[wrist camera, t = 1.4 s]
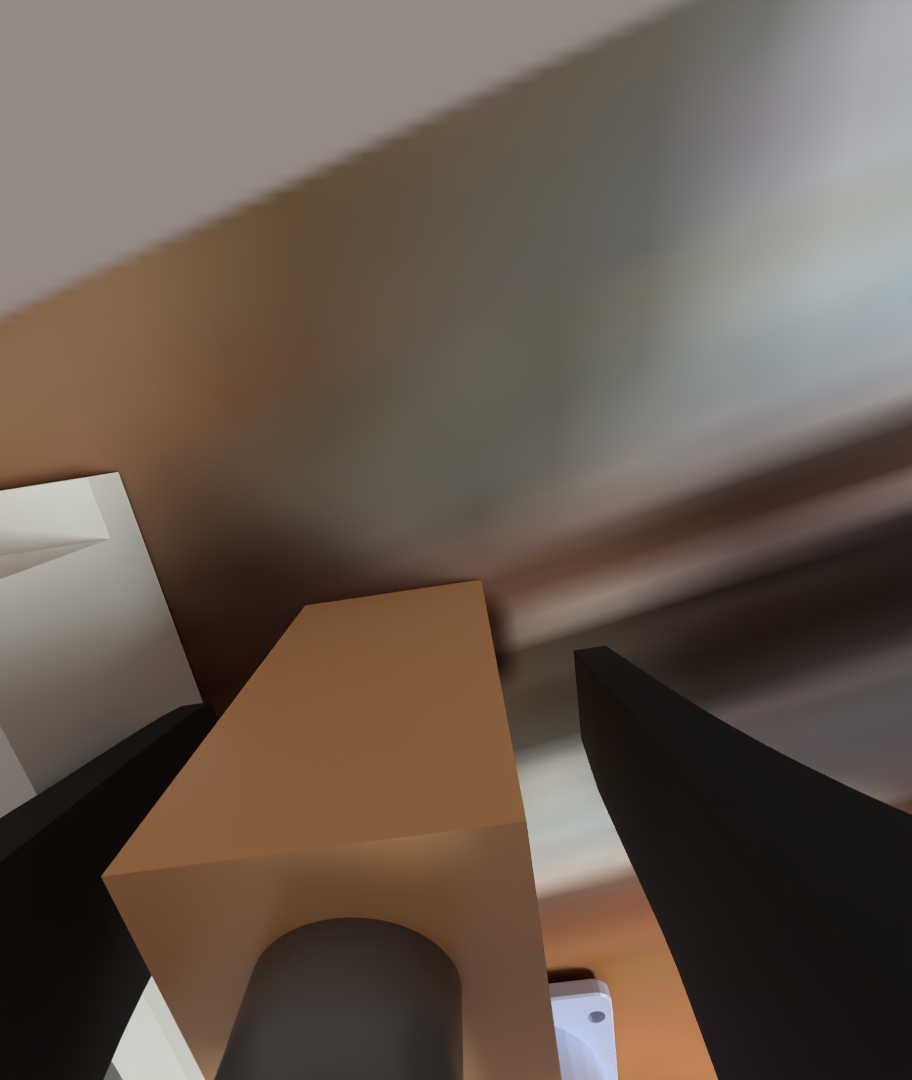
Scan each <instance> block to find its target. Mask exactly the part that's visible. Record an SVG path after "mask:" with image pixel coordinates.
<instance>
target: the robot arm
mask: <svg viewBox="0 0 912 1080" xmlns="http://www.w3.org/2000/svg"><path fill="white" fill-rule="evenodd" d="M574 659H575V671H576V682H577V694H578V706H579V717H580V729H581V739H582V742H583V745H584V748H585V751H586V754H587V757H588V760H589V764H590V767H591V770H592V773H593V776H594V779H595V782H596V784H597V787H598V790H599V793H600V795H601V797H602V799H603V802H604V804H605V806H606V808H607V811H608V813H609V815H610V817H611V820H612V822H613V824H614V826H615V828H616V831H617V833H618V835H619V837H620V840H621V842H622V844H623V846H624V848H625V851H626V853H627V855H628V857H629V859H630V862H631V864H632V866H633V868H634V870H635V872H636V875H637V877H638V879H639V881H640V883H641V886H642V888H643V890H644V892H645V894H646V897H647V899H648V901H649V903H650V906H651V908H652V910H653V912H654V914H655V916H656V919H657V921H658V923H659V925H660V927H661V930H662V932H663V935H664V937H665V939H666V942H667V944H668V947H669V949H670V951H671V954H672V956H673V959H674V961H675V963H676V966H677V968H678V971H679V974H680V976H681V979H682V982H683V985H684V987H685V990H686V993H687V995H688V998H689V1001H690V1004H691V1006H692V1009H693V1012H694V1014H695V1017H696V1020H697V1023H698V1025H699V1028H700V1031H701V1034H702V1036H703V1039H704V1042H705V1044H706V1047H707V1050H708V1053H709V1055H710V1058H711V1061H712V1063H713V1066H714V1069H715V1072H716V1075H717V1077H718V1080H912V815H911V814H908V813H906V812H904V811H901V810H899V809H896V808H894V807H892V806H890V805H888V804H885V803H883V802H881V801H879V800H876V799H874V798H872V797H870V796H868V795H865V794H863V793H861V792H859V791H857V790H854V789H852V788H850V787H848V786H846V785H844V784H842V783H840V782H838V781H836V780H834V779H832V778H830V777H828V776H826V775H824V774H822V773H819V772H817V771H815V770H813V769H811V768H809V767H807V766H805V765H803V764H801V763H799V762H797V761H795V760H793V759H791V758H789V757H787V756H785V755H783V754H781V753H779V752H778V751H776V750H774V749H772V748H770V747H768V746H766V745H764V744H762V743H761V742H759V741H757V740H755V739H753V738H752V737H750V736H748V735H746V734H745V733H743V732H741V731H739V730H738V729H736V728H734V727H732V726H730V725H729V724H727V723H725V722H723V721H722V720H720V719H718V718H717V717H715V716H713V715H712V714H710V713H708V712H707V711H705V710H703V709H702V708H700V707H698V706H697V705H695V704H693V703H692V702H690V701H689V700H687V699H685V698H684V697H682V696H681V695H679V694H677V693H676V692H674V691H673V690H671V689H670V688H668V687H667V686H665V685H663V684H662V683H660V682H659V681H657V680H656V679H654V678H653V677H651V676H650V675H648V674H647V673H645V672H644V671H642V670H641V669H639V668H638V667H636V666H635V665H633V664H632V663H631V662H629V661H628V660H626V659H625V658H623V657H622V656H620V655H619V654H617V653H616V652H614V651H613V650H611V649H609V648H608V647H606V646H602V647H595V648H587V649H580V650H574ZM217 722H218V719H217V716H216V714H215V711H214V708H213V705H212V703H211V702H206V703H199V704H192V705H185V706H180V707H179V708H177V709H175V710H173V711H171V712H169V713H167V714H165V715H163V716H162V717H160V718H158V719H157V720H155V721H153V722H151V723H150V724H148V725H146V726H145V727H143V728H142V729H140V730H138V731H137V732H135V733H134V734H132V735H130V736H129V737H127V738H126V739H124V740H122V741H121V742H119V743H118V744H116V745H115V746H113V747H112V748H110V749H108V750H107V751H105V752H104V753H102V754H101V755H99V756H97V757H96V758H94V759H93V760H91V761H90V762H88V763H87V764H85V765H84V766H82V767H80V768H79V769H77V770H76V771H74V772H73V773H71V774H70V775H68V776H66V777H65V778H63V779H62V780H60V781H59V782H57V783H56V784H54V785H52V786H51V787H49V788H48V789H46V790H45V791H43V792H41V793H40V794H38V795H37V796H35V797H33V798H32V799H30V800H28V801H27V802H25V803H24V804H22V805H20V806H19V807H17V808H15V809H14V810H12V811H11V812H9V813H7V814H6V815H4V816H3V817H1V818H0V1080H104V1077H105V1075H106V1073H107V1070H108V1068H109V1066H110V1063H111V1061H112V1059H113V1056H114V1054H115V1052H116V1049H117V1047H118V1045H119V1042H120V1040H121V1038H122V1035H123V1033H124V1031H125V1029H126V1027H127V1025H128V1023H129V1020H130V1018H131V1016H132V1014H133V1012H134V1010H135V1008H136V1006H137V1004H138V1002H139V1000H140V997H141V995H142V993H143V991H144V989H145V987H146V985H147V984H148V982H149V980H150V978H151V976H152V975H151V973H150V971H149V969H148V967H147V965H146V963H145V961H144V960H143V958H142V956H141V954H140V952H139V950H138V948H137V946H136V944H135V942H134V940H133V938H132V936H131V934H130V932H129V930H128V928H127V926H126V924H125V922H124V920H123V919H122V917H121V915H120V913H119V911H118V909H117V907H116V905H115V903H114V901H113V899H112V897H111V895H110V893H109V891H108V889H107V887H106V885H105V883H104V881H103V880H102V878H101V876H102V875H103V873H104V872H105V871H106V869H107V868H108V867H109V865H110V864H111V863H112V861H113V860H114V859H115V857H116V856H117V855H118V853H119V852H120V851H121V849H122V848H123V847H124V845H125V844H126V843H127V841H128V840H129V839H130V837H131V836H132V835H133V833H134V832H135V831H136V829H137V828H138V827H139V825H140V824H141V823H142V821H143V820H144V819H145V817H146V816H147V815H148V813H149V812H150V811H151V810H152V808H153V807H154V806H155V804H156V803H157V802H158V800H159V799H160V798H161V796H162V795H163V794H164V792H165V791H166V790H167V788H168V787H169V786H170V784H171V783H172V782H173V780H174V779H175V778H176V776H177V775H178V774H179V772H180V771H181V770H182V768H183V767H184V766H185V764H186V763H187V762H188V760H189V759H190V758H191V756H192V755H193V754H194V752H195V751H196V750H197V748H198V747H199V746H200V744H201V743H202V742H203V740H204V739H205V738H206V736H207V735H208V734H209V733H210V731H211V730H212V729H213V727H214V726H215V725H216V723H217ZM549 990H550V998H551V1005H552V1012H553V1019H554V1027H555V1034H556V1041H557V1049H558V1056H559V1063H560V1070H561V1078H562V1080H618V1074H617V1061H616V1048H615V1035H614V1023H613V1010H612V1001H611V997H610V993H609V990H608V987H607V985H606V984H605V983H604V982H603V981H601V980H598V979H584V980H576V981H567V982H559V983H551V984H549Z"/></svg>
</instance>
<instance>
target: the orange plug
mask: <svg viewBox="0 0 912 1080" xmlns="http://www.w3.org/2000/svg"><path fill="white" fill-rule="evenodd" d="M101 878H102V880H103V881H104V883H105V885H106V887H107V889H108V891H109V893H110V895H111V897H112V899H113V901H114V903H115V905H116V907H117V909H118V911H119V913H120V915H121V917H122V919H123V920H124V922H125V924H126V926H127V928H128V930H129V932H130V934H131V936H132V938H133V940H134V942H135V944H136V946H137V948H138V950H139V952H140V954H141V956H142V958H143V960H144V961H145V963H146V965H147V967H148V969H149V971H150V973H151V975H152V977H153V979H154V981H155V983H156V985H157V987H158V989H159V991H160V993H161V995H162V997H163V999H164V1000H165V1002H166V1004H167V1006H168V1008H169V1010H170V1012H171V1014H172V1016H173V1018H174V1020H175V1022H176V1024H177V1026H178V1028H179V1030H180V1032H181V1034H182V1036H183V1038H184V1039H185V1041H186V1043H187V1045H188V1047H189V1049H190V1051H191V1053H192V1055H193V1057H194V1059H195V1061H196V1063H197V1065H198V1067H199V1069H200V1071H201V1073H202V1075H203V1077H204V1078H205V1080H562V1078H561V1070H560V1063H559V1056H558V1049H557V1041H556V1034H555V1027H554V1019H553V1012H552V1005H551V998H550V990H549V983H548V976H547V969H546V961H545V954H544V947H543V940H542V932H541V925H540V918H539V911H538V903H537V896H536V889H535V881H534V874H533V867H532V860H531V852H530V845H529V838H528V831H527V823H526V817H525V812H524V807H523V801H522V796H521V791H520V785H519V780H518V775H517V769H516V764H515V758H514V753H513V748H512V742H511V737H510V732H509V726H508V721H507V716H506V710H505V705H504V700H503V694H502V689H501V683H500V678H499V673H498V667H497V662H496V657H495V651H494V646H493V641H492V635H491V630H490V625H489V619H488V614H487V608H486V603H485V598H484V592H483V587H482V582H481V580H475V581H468V582H461V583H454V584H447V585H441V586H434V587H427V588H420V589H414V590H407V591H400V592H393V593H386V594H380V595H373V596H366V597H359V598H352V599H346V600H339V601H332V602H325V603H318V604H312V605H305V606H304V608H303V609H302V610H301V612H300V613H299V614H298V616H297V617H296V618H295V620H294V621H293V622H292V624H291V625H290V626H289V628H288V629H287V630H286V632H285V633H284V634H283V636H282V637H281V638H280V640H279V641H278V642H277V644H276V645H275V646H274V648H273V649H272V650H271V652H270V653H269V654H268V655H267V657H266V658H265V659H264V661H263V662H262V663H261V665H260V666H259V667H258V669H257V670H256V671H255V673H254V674H253V675H252V677H251V678H250V679H249V681H248V682H247V683H246V685H245V686H244V687H243V689H242V690H241V691H240V693H239V694H238V695H237V697H236V698H235V699H234V701H233V702H232V703H231V705H230V706H229V707H228V709H227V710H226V711H225V713H224V714H223V715H222V717H221V718H220V719H219V721H218V722H217V723H216V725H215V726H214V727H213V729H212V730H211V731H210V733H209V734H208V735H207V736H206V738H205V739H204V740H203V742H202V743H201V744H200V746H199V747H198V748H197V750H196V751H195V752H194V754H193V755H192V756H191V758H190V759H189V760H188V762H187V763H186V764H185V766H184V767H183V768H182V770H181V771H180V772H179V774H178V775H177V776H176V778H175V779H174V780H173V782H172V783H171V784H170V786H169V787H168V788H167V790H166V791H165V792H164V794H163V795H162V796H161V798H160V799H159V800H158V802H157V803H156V804H155V806H154V807H153V808H152V810H151V811H150V812H149V813H148V815H147V816H146V817H145V819H144V820H143V821H142V823H141V824H140V825H139V827H138V828H137V829H136V831H135V832H134V833H133V835H132V836H131V837H130V839H129V840H128V841H127V843H126V844H125V845H124V847H123V848H122V849H121V851H120V852H119V853H118V855H117V856H116V857H115V859H114V860H113V861H112V863H111V864H110V865H109V867H108V868H107V869H106V871H105V872H104V873H103V875H102V876H101Z"/></svg>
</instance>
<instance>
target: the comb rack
mask: <svg viewBox="0 0 912 1080" xmlns="http://www.w3.org/2000/svg"><path fill="white" fill-rule="evenodd" d="M199 703H203V701H202V699H201V696H200V693H199V690H198V688H197V685H196V682H195V679H194V677H193V674H192V671H191V669H190V666H189V663H188V660H187V658H186V655H185V652H184V650H183V647H182V644H181V641H180V639H179V636H178V633H177V631H176V628H175V625H174V622H173V620H172V617H171V614H170V612H169V609H168V606H167V603H166V601H165V598H164V595H163V592H162V590H161V587H160V584H159V582H158V579H157V576H156V573H155V571H154V568H153V565H152V563H151V560H150V557H149V554H148V552H147V549H146V546H145V544H144V541H143V538H142V535H141V533H140V530H139V527H138V525H137V522H136V519H135V516H134V514H133V511H132V508H131V506H130V503H129V500H128V497H127V495H126V492H125V489H124V486H123V484H122V481H121V478H120V476H119V473H118V472H114V473H108V474H101V475H95V476H89V477H82V478H76V479H70V480H63V481H57V482H51V483H45V484H38V485H32V486H26V487H19V488H13V489H7V490H0V818H1V817H3V816H4V815H6V814H7V813H9V812H11V811H12V810H14V809H15V808H17V807H19V806H20V805H22V804H24V803H25V802H27V801H28V800H30V799H32V798H33V797H35V796H37V795H38V794H40V793H41V792H43V791H45V790H46V789H48V788H49V787H51V786H52V785H54V784H56V783H57V782H59V781H60V780H62V779H63V778H65V777H66V776H68V775H70V774H71V773H73V772H74V771H76V770H77V769H79V768H80V767H82V766H84V765H85V764H87V763H88V762H90V761H91V760H93V759H94V758H96V757H97V756H99V755H101V754H102V753H104V752H105V751H107V750H108V749H110V748H112V747H113V746H115V745H116V744H118V743H119V742H121V741H122V740H124V739H126V738H127V737H129V736H130V735H132V734H134V733H135V732H137V731H138V730H140V729H142V728H143V727H145V726H146V725H148V724H150V723H151V722H153V721H155V720H157V719H158V718H160V717H162V716H163V715H165V714H167V713H169V712H171V711H173V710H175V709H177V708H179V707H180V706H185V705H192V704H199ZM104 1080H205V1078H204V1077H203V1075H202V1073H201V1071H200V1069H199V1067H198V1065H197V1063H196V1061H195V1059H194V1057H193V1055H192V1053H191V1051H190V1049H189V1047H188V1045H187V1043H186V1041H185V1039H184V1038H183V1036H182V1034H181V1032H180V1030H179V1028H178V1026H177V1024H176V1022H175V1020H174V1018H173V1016H172V1014H171V1012H170V1010H169V1008H168V1006H167V1004H166V1002H165V1000H164V999H163V997H162V995H161V993H160V991H159V989H158V987H157V985H156V983H155V981H154V979H153V977H152V976H151V978H150V980H149V982H148V984H147V985H146V987H145V989H144V991H143V993H142V995H141V997H140V1000H139V1002H138V1004H137V1006H136V1008H135V1010H134V1012H133V1014H132V1016H131V1018H130V1020H129V1023H128V1025H127V1027H126V1029H125V1031H124V1033H123V1035H122V1038H121V1040H120V1042H119V1045H118V1047H117V1049H116V1052H115V1054H114V1056H113V1059H112V1061H111V1063H110V1066H109V1068H108V1070H107V1073H106V1075H105V1077H104Z"/></svg>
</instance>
